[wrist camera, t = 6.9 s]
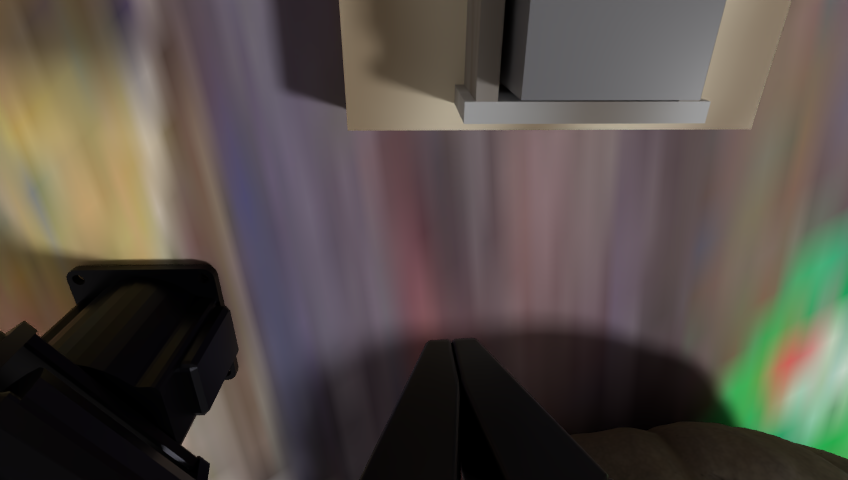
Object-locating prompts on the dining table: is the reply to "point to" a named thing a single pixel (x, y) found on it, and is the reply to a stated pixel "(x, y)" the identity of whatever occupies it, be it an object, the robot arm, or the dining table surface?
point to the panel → (494, 103)
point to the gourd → (706, 454)
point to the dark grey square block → (608, 48)
